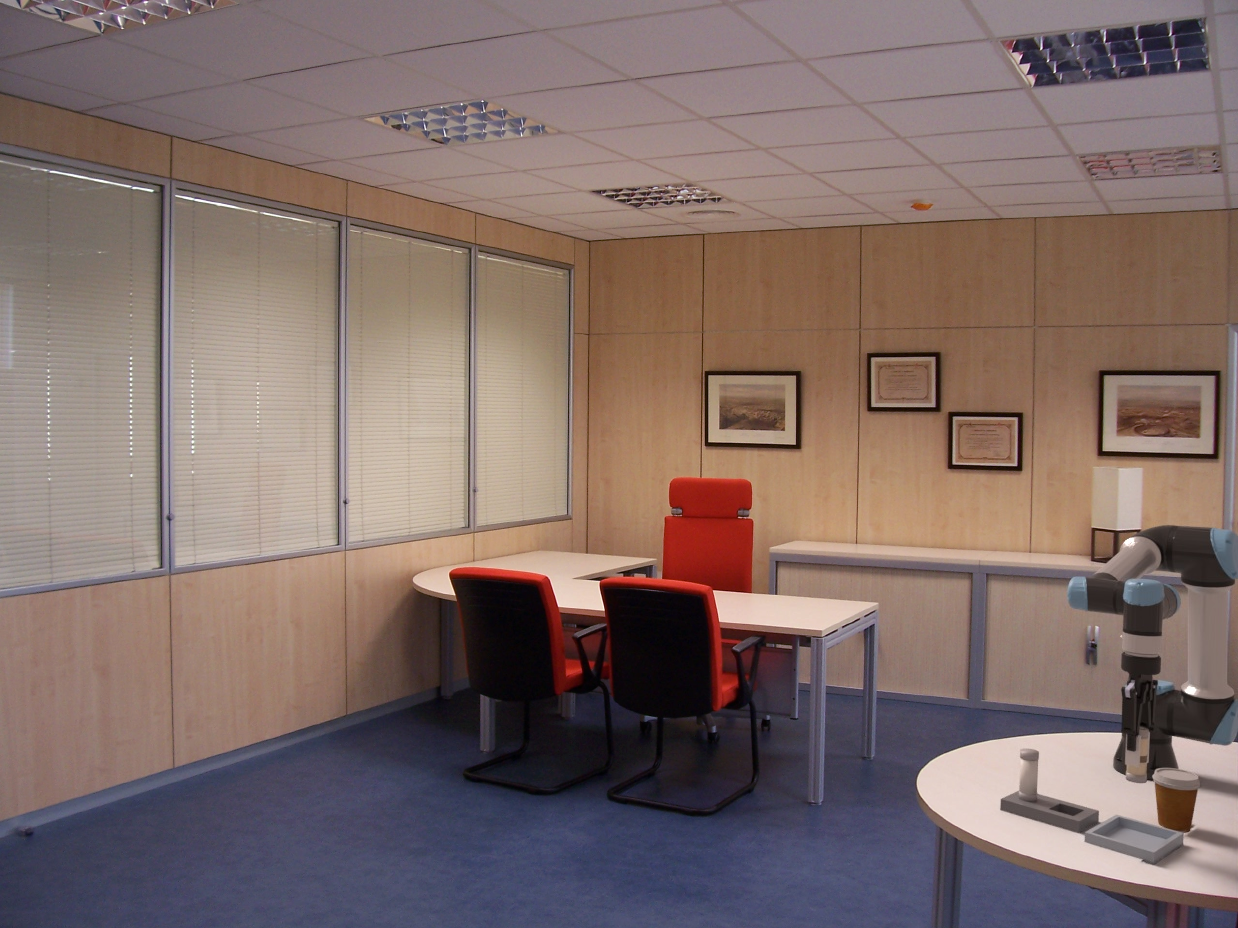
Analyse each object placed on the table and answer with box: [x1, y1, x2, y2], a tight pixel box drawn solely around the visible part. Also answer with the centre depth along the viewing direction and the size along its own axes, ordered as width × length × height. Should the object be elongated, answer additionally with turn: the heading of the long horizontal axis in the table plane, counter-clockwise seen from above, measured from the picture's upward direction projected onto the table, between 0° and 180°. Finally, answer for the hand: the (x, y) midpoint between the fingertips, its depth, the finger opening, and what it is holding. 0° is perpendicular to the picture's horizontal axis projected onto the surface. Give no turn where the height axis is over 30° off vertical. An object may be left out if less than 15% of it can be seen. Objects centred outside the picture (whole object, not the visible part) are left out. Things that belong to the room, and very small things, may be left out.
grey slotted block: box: [999, 748, 1100, 834], centre depth 243 cm, size 10×18×14 cm, turn 43°
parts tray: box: [1084, 814, 1184, 866], centre depth 228 cm, size 16×14×2 cm
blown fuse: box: [1125, 727, 1149, 784], centre depth 227 cm, size 4×4×11 cm
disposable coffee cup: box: [1152, 768, 1201, 833], centre depth 238 cm, size 10×10×12 cm
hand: (1136, 762), depth 227 cm, fingers closed on blown fuse, 4 cm apart
